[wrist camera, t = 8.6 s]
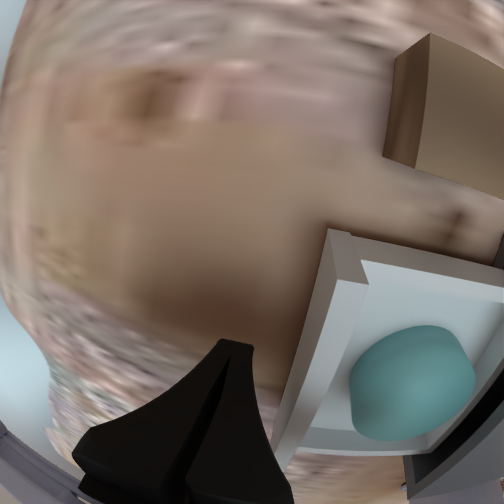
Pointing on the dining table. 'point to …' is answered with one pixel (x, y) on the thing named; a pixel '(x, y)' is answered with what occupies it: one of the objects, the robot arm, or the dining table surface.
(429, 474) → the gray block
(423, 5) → the dining table surface
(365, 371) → the teal round puck
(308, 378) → the tray
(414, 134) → the walnut block
